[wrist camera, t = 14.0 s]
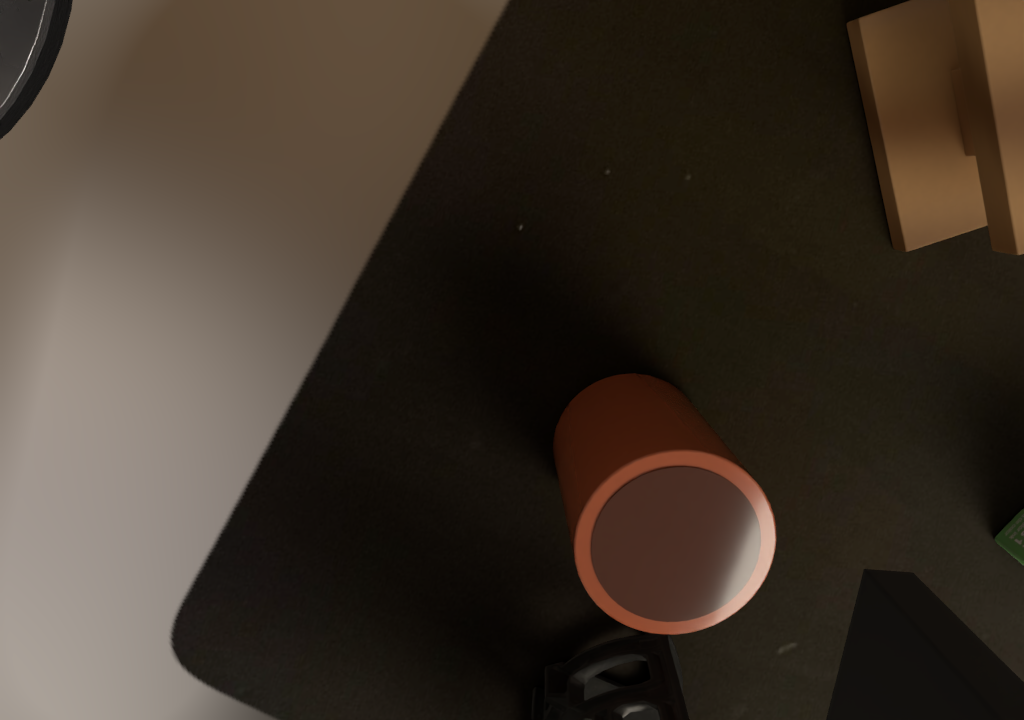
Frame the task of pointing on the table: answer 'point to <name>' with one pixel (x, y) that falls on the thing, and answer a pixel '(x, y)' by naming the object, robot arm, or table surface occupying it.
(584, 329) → the table surface
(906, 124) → the stand
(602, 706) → the holder
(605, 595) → the cup
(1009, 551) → the ink box
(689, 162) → the table surface
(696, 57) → the table surface
